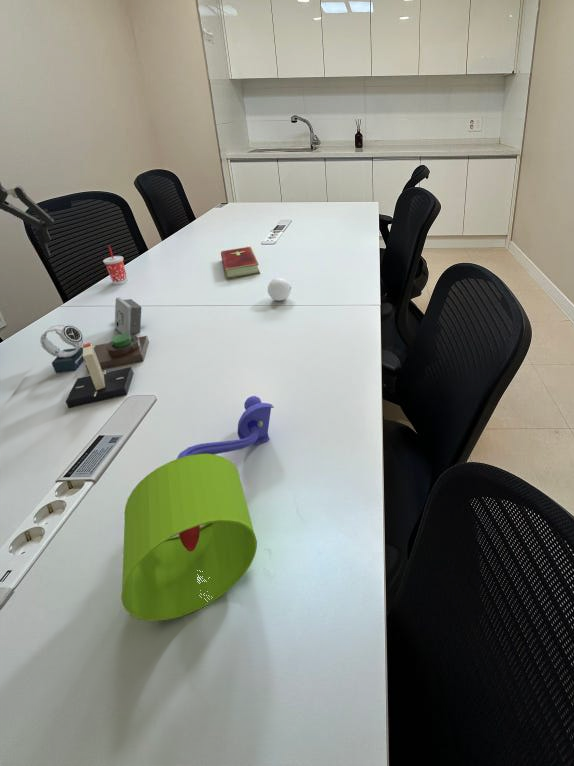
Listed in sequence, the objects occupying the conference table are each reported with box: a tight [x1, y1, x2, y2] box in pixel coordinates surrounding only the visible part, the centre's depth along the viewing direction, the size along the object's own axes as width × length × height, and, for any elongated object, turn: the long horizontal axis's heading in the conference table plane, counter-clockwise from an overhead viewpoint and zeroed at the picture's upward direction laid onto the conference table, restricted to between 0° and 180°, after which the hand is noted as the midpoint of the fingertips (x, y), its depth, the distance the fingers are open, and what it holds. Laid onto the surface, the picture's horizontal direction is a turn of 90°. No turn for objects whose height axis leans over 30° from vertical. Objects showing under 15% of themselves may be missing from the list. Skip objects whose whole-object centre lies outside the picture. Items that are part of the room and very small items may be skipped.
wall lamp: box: [120, 395, 275, 622], centre depth 60 cm, size 15×23×30 cm
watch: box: [39, 324, 85, 374], centre depth 94 cm, size 6×8×11 cm
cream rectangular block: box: [82, 342, 105, 390], centre depth 85 cm, size 5×2×9 cm, turn 35°
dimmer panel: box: [65, 366, 134, 409], centre depth 87 cm, size 11×9×2 cm
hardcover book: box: [220, 246, 261, 280], centre depth 151 cm, size 12×21×4 cm, turn 24°
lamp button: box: [111, 333, 132, 348], centre depth 98 cm, size 4×4×2 cm
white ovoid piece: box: [267, 277, 292, 302], centre depth 125 cm, size 10×7×7 cm
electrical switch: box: [114, 296, 142, 335], centre depth 109 cm, size 9×5×9 cm, turn 49°
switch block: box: [85, 334, 150, 374], centre depth 98 cm, size 12×9×4 cm
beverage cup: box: [102, 245, 128, 285], centre depth 139 cm, size 6×6×14 cm
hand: (10, 263), depth 87 cm, fingers open, 13 cm apart
